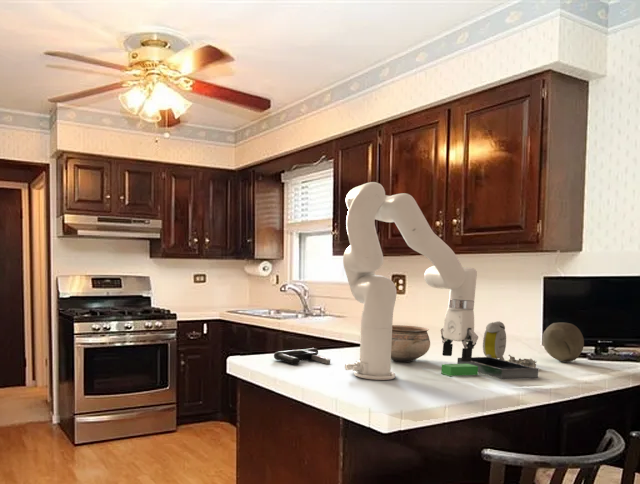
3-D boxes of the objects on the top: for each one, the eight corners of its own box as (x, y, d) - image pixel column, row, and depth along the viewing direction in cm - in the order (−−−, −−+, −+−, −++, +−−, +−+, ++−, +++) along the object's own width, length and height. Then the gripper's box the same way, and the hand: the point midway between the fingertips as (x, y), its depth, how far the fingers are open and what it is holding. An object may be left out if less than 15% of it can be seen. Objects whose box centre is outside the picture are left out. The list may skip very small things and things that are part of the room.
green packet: (450, 377, 171) (451, 367, 170) (441, 373, 175) (441, 364, 175) (477, 376, 173) (478, 366, 173) (467, 373, 178) (467, 363, 178)
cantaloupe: (589, 362, 205) (592, 323, 204) (572, 365, 197) (575, 325, 196) (551, 357, 216) (553, 320, 215) (533, 359, 208) (535, 321, 207)
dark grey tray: (501, 380, 167) (502, 369, 167) (457, 367, 188) (457, 357, 188) (537, 379, 170) (538, 368, 170) (490, 366, 191) (490, 356, 191)
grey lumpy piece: (506, 365, 195) (507, 354, 195) (529, 366, 193) (530, 355, 193) (513, 370, 185) (514, 358, 184) (537, 372, 183) (538, 360, 182)
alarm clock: (491, 358, 208) (493, 320, 207) (510, 361, 204) (512, 321, 203) (481, 362, 199) (483, 322, 198) (500, 365, 195) (503, 323, 194)
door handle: (342, 355, 192) (311, 346, 205) (300, 360, 180) (270, 350, 193) (341, 364, 192) (310, 355, 205) (299, 370, 181) (269, 359, 194)
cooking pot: (400, 354, 215) (401, 323, 214) (443, 361, 200) (445, 328, 199) (360, 359, 199) (361, 326, 198) (405, 368, 184) (406, 332, 183)
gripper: (434, 303, 180) (430, 353, 181) (468, 307, 163) (463, 363, 164) (454, 304, 182) (449, 354, 183) (489, 308, 165) (484, 363, 166)
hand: (456, 358), depth 174 cm, fingers open, 9 cm apart
